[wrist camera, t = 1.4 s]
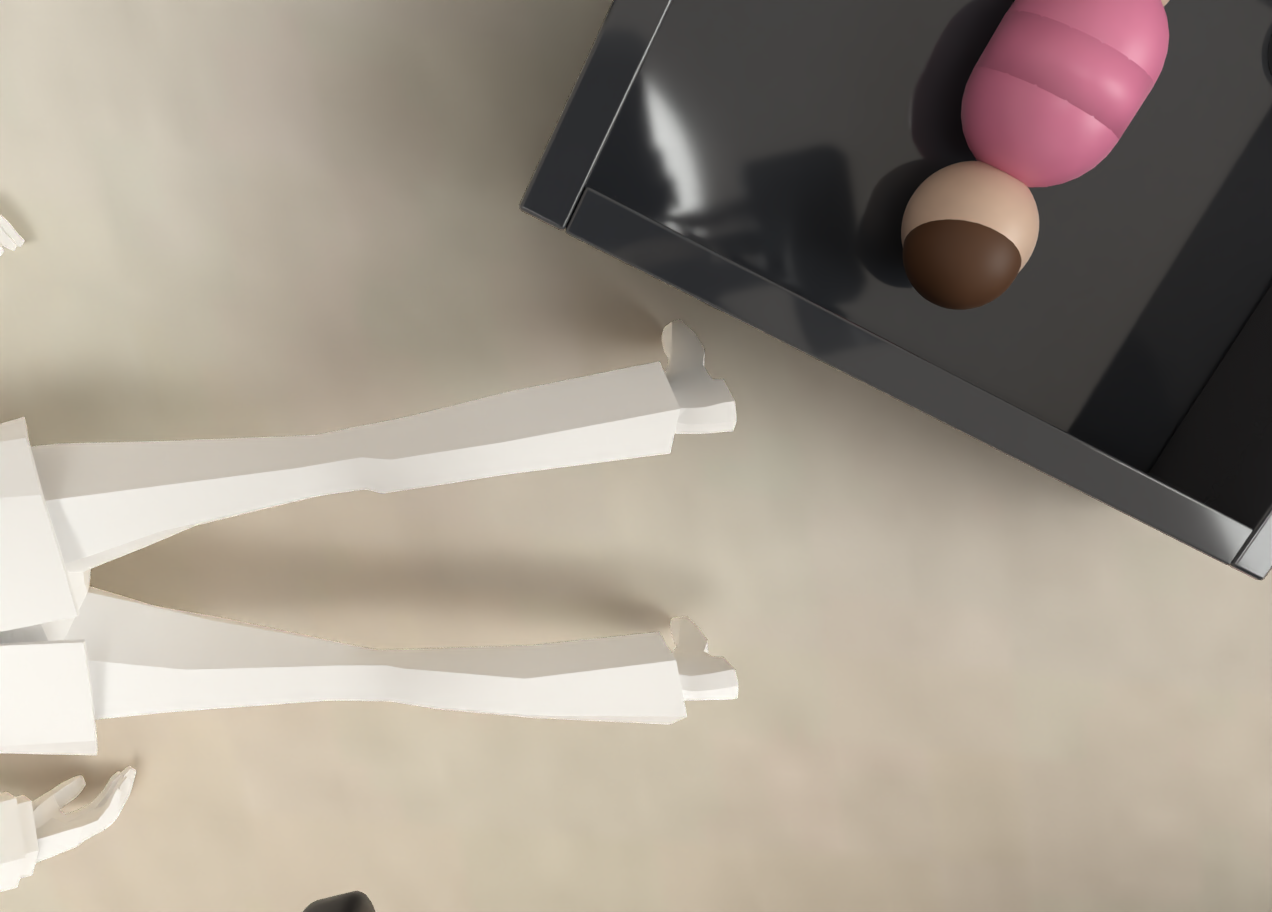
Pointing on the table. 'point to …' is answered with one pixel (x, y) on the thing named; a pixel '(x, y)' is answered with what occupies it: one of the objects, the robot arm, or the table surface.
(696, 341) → the male figurine
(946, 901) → the table surface
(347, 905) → the robot arm
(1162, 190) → the sink
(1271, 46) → the drain
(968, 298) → the doll
